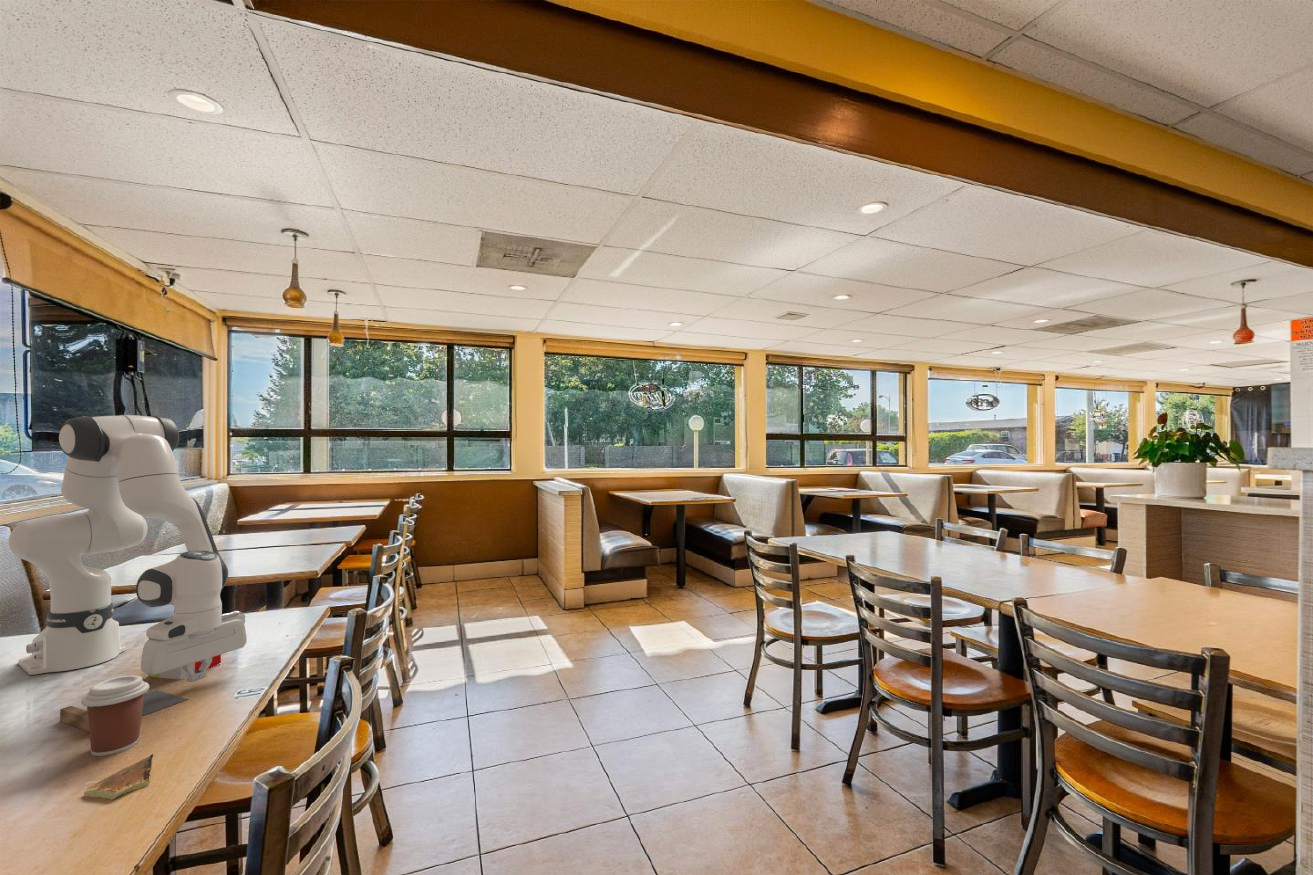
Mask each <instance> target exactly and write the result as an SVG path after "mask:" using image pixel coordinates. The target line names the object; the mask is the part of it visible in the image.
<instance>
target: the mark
mask: <svg viewBox="0 0 1313 875" xmlns="http://www.w3.org/2000/svg"><path fill="white" fill-rule="evenodd" d="M187 700H189V698H187V697H183V696H179V695H176V694H172V693H168V692H164V691H161V690H158V689H157V690H156V689H155V690H151V691H150V692H146V693H144V701H143V709H142V717H143V716H146V715H150V714H153V713H154V712H157V711H160V710H164V709H166V708H168V707H171V706H174V705H177V704H179V703H182V702H185V701H187Z"/></svg>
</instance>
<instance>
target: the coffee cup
mask: <svg viewBox="0 0 1313 875" xmlns="http://www.w3.org/2000/svg"><path fill="white" fill-rule="evenodd" d="M149 689H150V684H149V683H148V682H146V681H144V680H143V677H142V676H140V675H136V674H135V675H134V674H132V675H130V674H129V675H122V676H115V677H112V678H108V679H105V680H102V681H99V682H98V683H95V684H93V685H92V686H91V687H90V688H89V692H88V693H87V694H85V696H83V697H82V698H81V704H82V706H83V707H86V709H87V710H86V711H87V712H88V723H89V731H88V732H89V741H90V754H91V756H94V757H105V756H110V755H115V754H118V753H122V752H123V751H126V750H129V749H131V748H133V747H134V746H136V745H137V744H138V743H139V741H140V732H141V725H142V717H143V716H142V709H143V701H144V694H146V693H148V691H149Z"/></svg>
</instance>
